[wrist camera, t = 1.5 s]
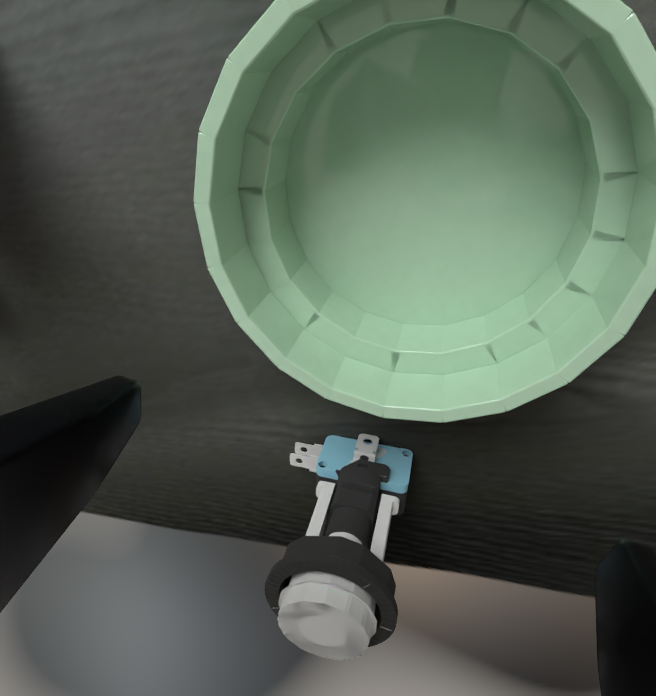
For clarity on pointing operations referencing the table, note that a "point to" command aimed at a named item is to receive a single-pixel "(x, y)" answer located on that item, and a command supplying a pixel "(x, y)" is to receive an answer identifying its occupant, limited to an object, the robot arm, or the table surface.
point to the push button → (342, 550)
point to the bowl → (433, 196)
